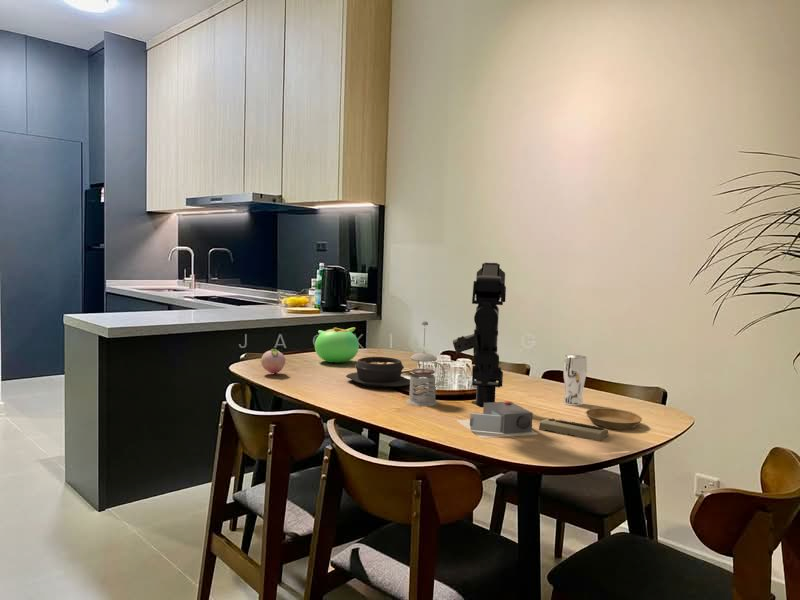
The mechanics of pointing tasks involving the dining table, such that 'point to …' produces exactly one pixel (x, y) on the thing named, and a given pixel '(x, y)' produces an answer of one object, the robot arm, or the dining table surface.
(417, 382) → the french press
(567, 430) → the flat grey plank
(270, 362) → the decorative fruit
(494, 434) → the mat
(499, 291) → the robot arm
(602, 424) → the plant saucer
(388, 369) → the casserole
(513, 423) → the camera body
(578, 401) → the beer glass
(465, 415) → the dining table surface
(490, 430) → the side door
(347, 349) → the green persimmon
